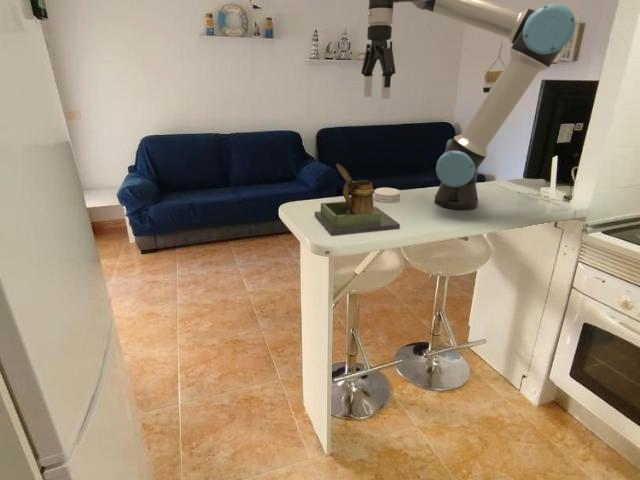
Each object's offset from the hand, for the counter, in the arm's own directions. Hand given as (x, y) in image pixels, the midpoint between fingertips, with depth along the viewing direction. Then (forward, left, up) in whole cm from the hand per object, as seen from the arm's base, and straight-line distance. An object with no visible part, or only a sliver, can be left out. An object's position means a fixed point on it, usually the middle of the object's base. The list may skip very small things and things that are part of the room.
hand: (375, 97), depth 131 cm
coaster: (-8, -3, -37) cm, 38 cm away
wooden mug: (+13, +18, -35) cm, 42 cm away
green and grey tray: (+13, +18, -37) cm, 43 cm away
